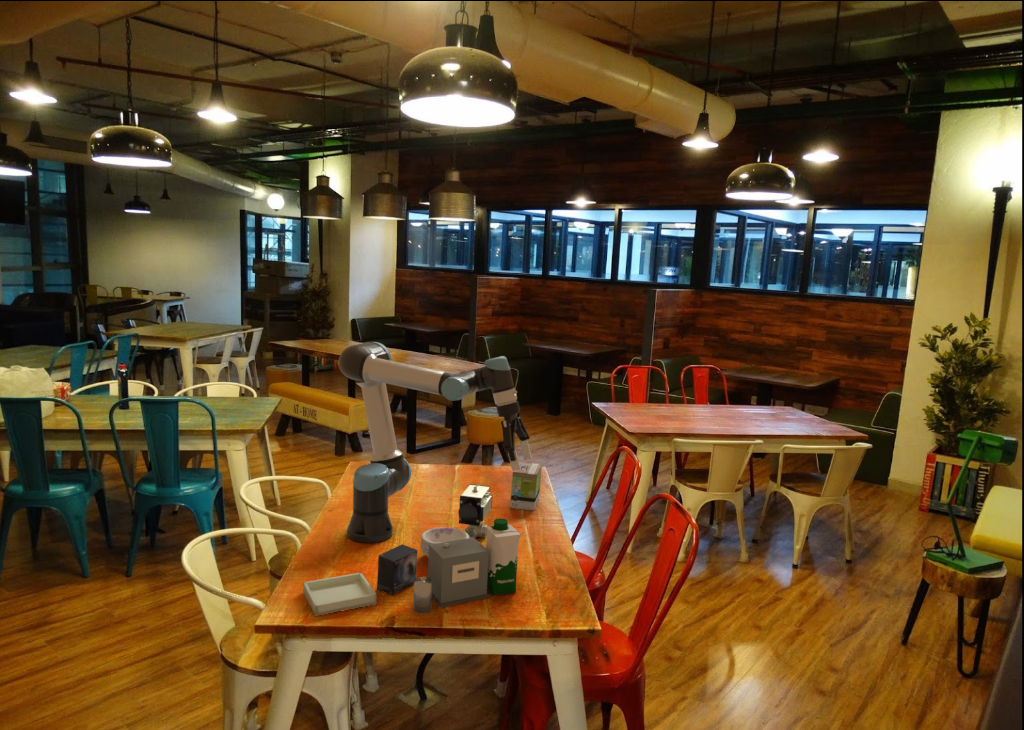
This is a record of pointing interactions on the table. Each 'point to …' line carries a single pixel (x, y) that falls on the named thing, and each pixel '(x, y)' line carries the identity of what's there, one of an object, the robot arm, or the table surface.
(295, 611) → the table surface
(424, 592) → the grey cylinder
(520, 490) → the tea box
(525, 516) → the table surface
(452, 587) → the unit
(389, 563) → the small box
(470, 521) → the ball valve
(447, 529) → the paper bowls
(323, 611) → the tray
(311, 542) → the table surface
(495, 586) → the milk carton
